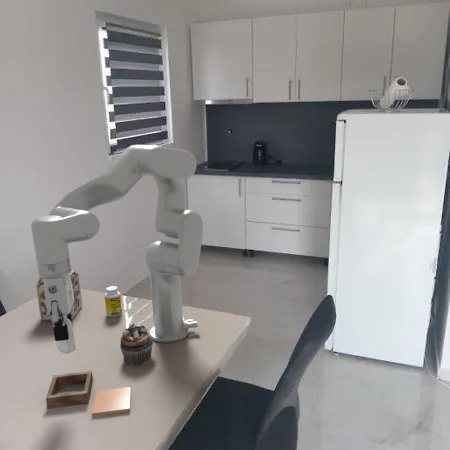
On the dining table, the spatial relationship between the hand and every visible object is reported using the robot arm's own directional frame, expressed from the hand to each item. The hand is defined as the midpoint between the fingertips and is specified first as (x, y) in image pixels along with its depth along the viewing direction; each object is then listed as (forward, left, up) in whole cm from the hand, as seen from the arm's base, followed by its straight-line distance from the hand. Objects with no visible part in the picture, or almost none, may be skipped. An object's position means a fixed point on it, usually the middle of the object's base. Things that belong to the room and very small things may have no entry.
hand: (64, 333), depth 113 cm
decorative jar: (+11, -51, -18) cm, 55 cm away
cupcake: (-17, -14, -18) cm, 28 cm away
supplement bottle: (-8, -46, -18) cm, 50 cm away
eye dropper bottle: (0, 0, -5) cm, 5 cm away
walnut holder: (0, 0, -18) cm, 18 cm away
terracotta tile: (-11, +6, -18) cm, 21 cm away
